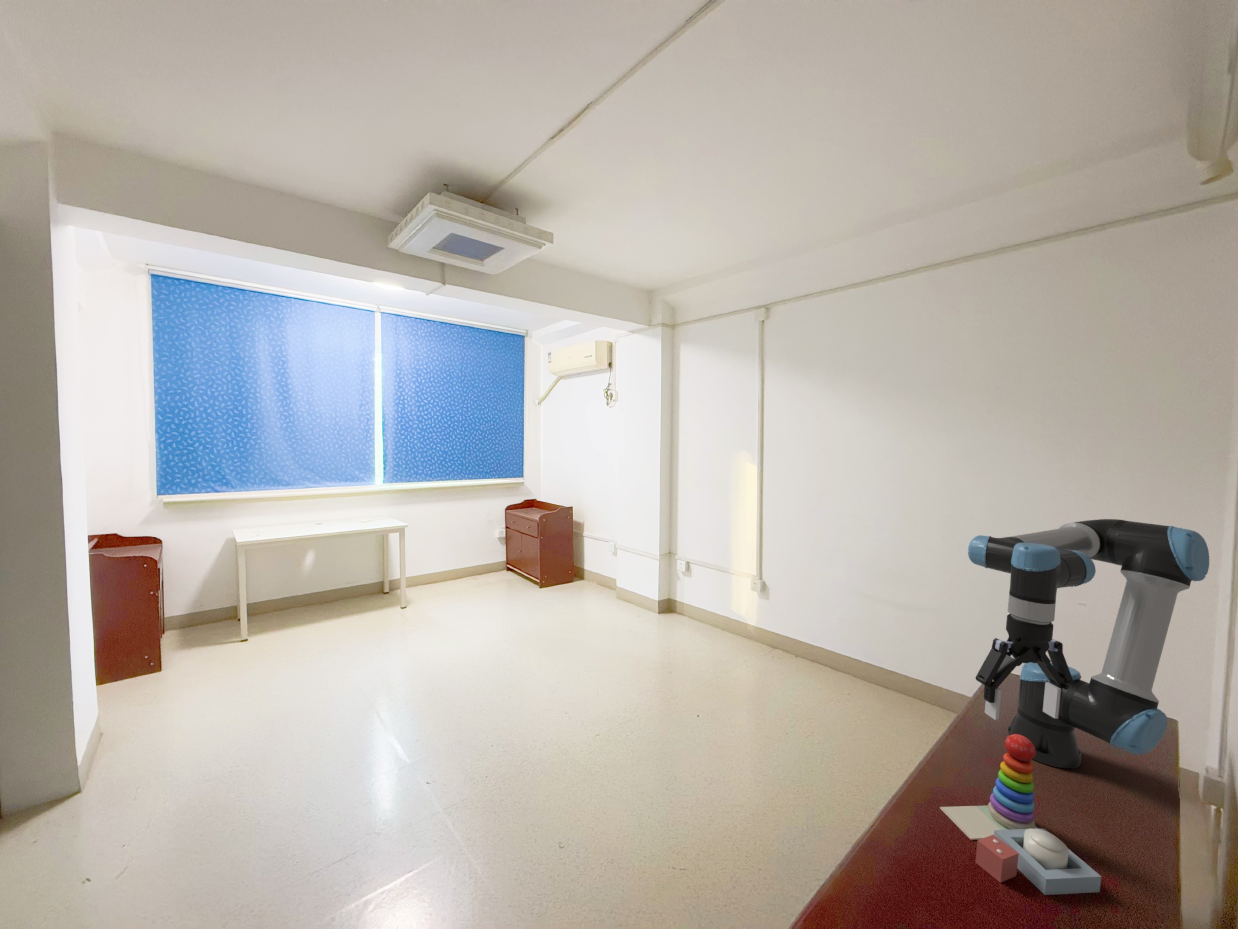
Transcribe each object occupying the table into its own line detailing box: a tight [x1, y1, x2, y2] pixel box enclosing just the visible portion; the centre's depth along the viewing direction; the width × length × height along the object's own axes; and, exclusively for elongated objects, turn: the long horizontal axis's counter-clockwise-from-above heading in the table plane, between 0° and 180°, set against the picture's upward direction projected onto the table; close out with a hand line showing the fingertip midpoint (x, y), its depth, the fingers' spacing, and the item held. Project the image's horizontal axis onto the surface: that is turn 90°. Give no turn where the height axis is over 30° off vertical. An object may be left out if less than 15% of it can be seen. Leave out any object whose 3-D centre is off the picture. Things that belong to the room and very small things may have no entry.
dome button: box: [1023, 828, 1069, 870], centre depth 95 cm, size 6×6×5 cm
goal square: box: [975, 804, 1039, 830], centre depth 106 cm, size 8×8×1 cm
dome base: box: [994, 827, 1102, 896], centre depth 95 cm, size 11×11×3 cm
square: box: [939, 805, 1001, 841], centre depth 105 cm, size 8×8×1 cm
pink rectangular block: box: [974, 835, 1019, 883], centre depth 94 cm, size 4×4×5 cm
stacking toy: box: [987, 734, 1036, 829], centre depth 106 cm, size 8×8×19 cm
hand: (1021, 715), depth 105 cm, fingers open, 13 cm apart
